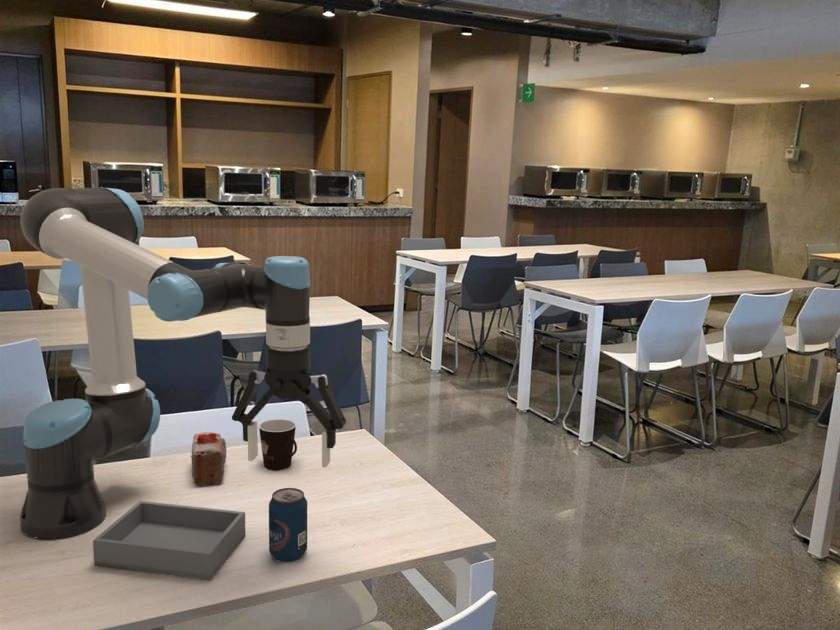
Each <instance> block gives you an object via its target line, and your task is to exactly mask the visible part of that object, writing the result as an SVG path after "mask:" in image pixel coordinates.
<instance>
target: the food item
mask: <svg viewBox="0 0 840 630" xmlns="http://www.w3.org/2000/svg"><path fill="white" fill-rule="evenodd" d="M227 452H228V451H227V444H226V438H224V437H222V436H221V433H216V432H213V431H212V432H211V431H204V432H200V433H199V432H198V433H195V434H194V435H193V439H192V443H191V455H190V457H191V475H192V479H193V483H194V485H195V487H200V488H202V487H209V486H210V485H211V486H220V485H222V484H223V481H224V474H225V468H224V467H225V464H226V459H227Z"/></svg>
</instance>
